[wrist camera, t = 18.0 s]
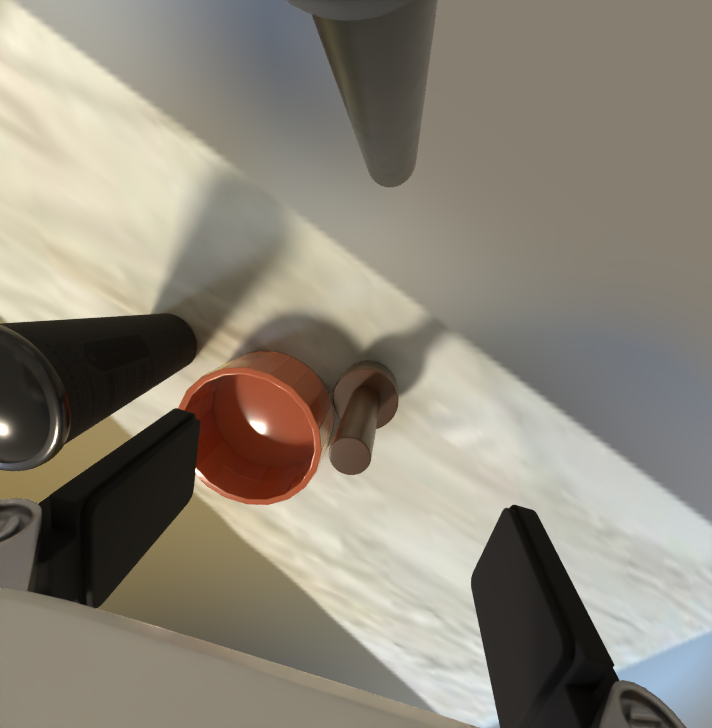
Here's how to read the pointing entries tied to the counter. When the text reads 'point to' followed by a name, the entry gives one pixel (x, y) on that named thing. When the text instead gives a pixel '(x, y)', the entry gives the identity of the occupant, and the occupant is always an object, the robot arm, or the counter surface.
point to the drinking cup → (79, 377)
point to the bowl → (260, 427)
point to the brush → (361, 413)
